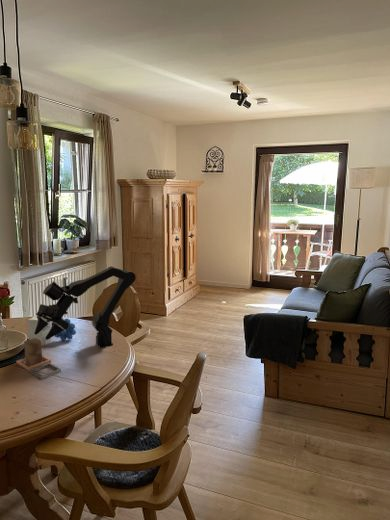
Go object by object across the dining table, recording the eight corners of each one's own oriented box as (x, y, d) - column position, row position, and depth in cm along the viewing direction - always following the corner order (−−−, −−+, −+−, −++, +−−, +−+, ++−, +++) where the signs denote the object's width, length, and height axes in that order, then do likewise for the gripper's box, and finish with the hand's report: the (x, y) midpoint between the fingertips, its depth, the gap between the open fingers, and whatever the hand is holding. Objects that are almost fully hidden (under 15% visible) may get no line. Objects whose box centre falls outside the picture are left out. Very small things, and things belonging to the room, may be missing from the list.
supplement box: (42, 345, 186) (41, 320, 183) (28, 344, 187) (27, 319, 185) (51, 340, 193) (49, 315, 190) (37, 338, 194) (36, 314, 192)
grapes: (50, 344, 187) (49, 321, 185) (52, 339, 193) (50, 316, 191) (76, 342, 190) (75, 319, 188) (76, 337, 196) (75, 314, 194)
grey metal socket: (49, 365, 165) (49, 362, 165) (61, 371, 160) (60, 368, 159) (30, 372, 158) (30, 369, 158) (41, 379, 153) (41, 376, 153)
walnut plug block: (36, 359, 171) (35, 338, 169) (42, 362, 167) (41, 340, 166) (25, 363, 167) (24, 341, 165) (31, 366, 164) (29, 344, 162)
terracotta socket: (39, 355, 174) (38, 353, 174) (51, 362, 168) (51, 359, 168) (16, 363, 167) (16, 360, 166) (28, 370, 160) (28, 367, 160)
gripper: (38, 293, 175) (16, 322, 168) (61, 300, 163) (38, 333, 157) (55, 305, 182) (34, 334, 176) (78, 314, 170) (57, 345, 164)
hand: (40, 336), depth 168 cm, fingers open, 9 cm apart
